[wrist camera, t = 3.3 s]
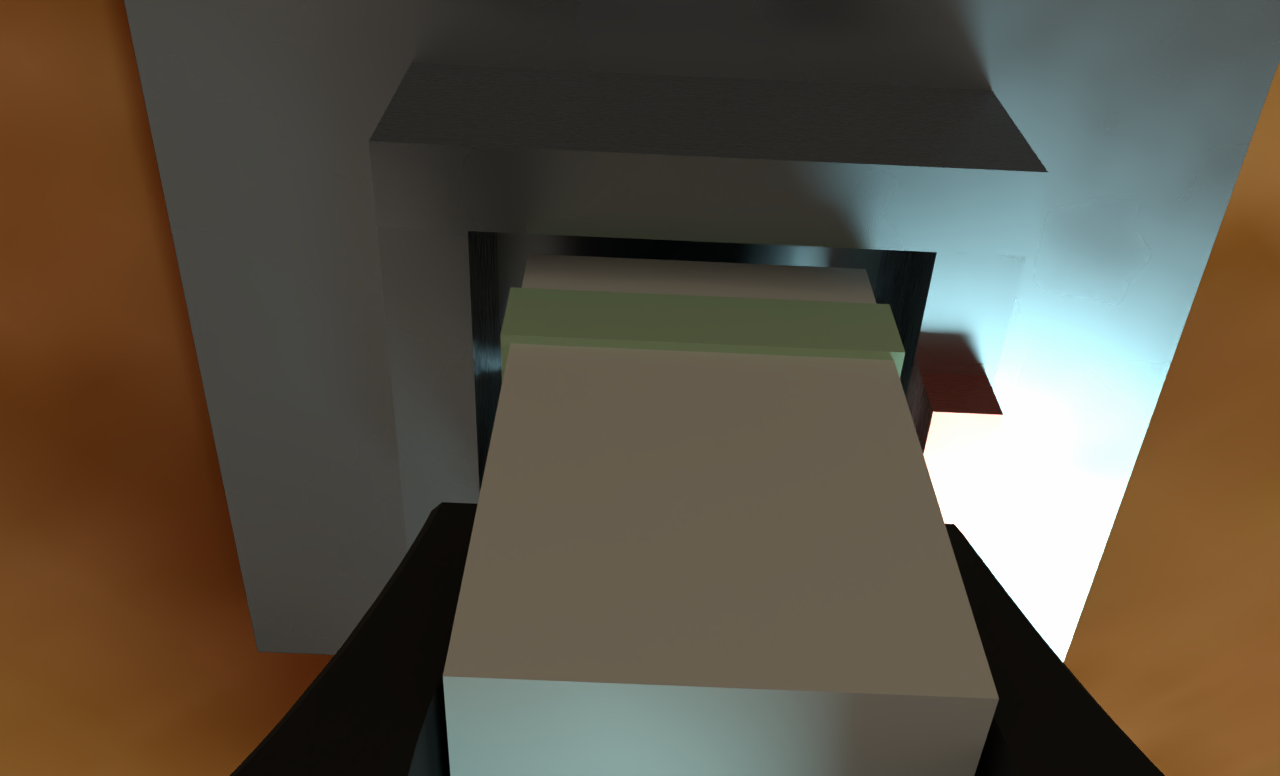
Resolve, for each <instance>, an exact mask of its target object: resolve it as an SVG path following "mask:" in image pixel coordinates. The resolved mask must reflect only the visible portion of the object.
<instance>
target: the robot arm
mask: <svg viewBox="0 0 1280 776" xmlns="http://www.w3.org/2000/svg"><path fill="white" fill-rule="evenodd" d="M477 505H478V504H475V503H451V502H442V503H441V504H439V505H438V506H437V507H435V508H434V509H433V510H432V511H431V513H430V514H429V516H428V518H427V520H426V522H425V523H424V525H423V527H422V529H421V530H420V532H419V534H418V535H417V537H416V539H415V540H414V542H413V544H412V545H411V547H410V549H409V550H408V552H407V554H406V555H405V557H404V558H403V560H402V561H401V563H400V564H399V566H398V568H397V569H396V571H395V572H394V573H393V575H392V576H391V578H390V579H389V581H388V582H387V584H386V585H385V587H384V588H383V590H382V591H381V593H380V594H379V596H378V597H377V599H376V600H375V601H374V603H373V604H372V605H371V607H370V608H369V609H368V611H367V612H366V614H365V615H364V616H363V618H362V619H361V620H360V622H359V623H358V624H357V626H356V627H355V629H354V630H353V631H352V633H351V634H350V635H349V637H348V638H347V639H346V641H345V642H344V644H343V645H342V646H341V648H340V649H339V650H338V651H337V653H336V654H335V655H334V657H333V658H332V659H331V660H330V662H329V663H328V664H327V665H326V667H325V668H324V669H323V670H322V671H321V673H320V674H319V675H318V676H317V677H316V679H315V680H314V681H313V682H312V684H311V685H310V686H309V687H308V688H307V690H306V691H305V692H304V693H303V694H302V696H301V697H300V698H299V699H298V700H297V702H296V703H295V704H294V705H293V706H292V708H291V709H290V710H289V711H288V713H287V714H286V715H285V716H284V717H283V718H282V720H281V721H280V722H279V723H278V724H277V725H276V726H275V728H274V729H273V730H272V731H271V732H270V733H269V734H268V735H267V736H266V738H265V739H264V740H263V741H262V742H261V743H260V744H259V745H258V746H257V748H256V749H255V750H254V751H253V752H252V753H251V754H250V755H249V756H248V757H247V758H246V759H245V760H244V761H243V763H242V764H241V765H240V766H239V767H238V768H237V769H236V770H235V771H234V772H233V773H232V774H231V775H230V776H450V763H449V750H448V737H447V724H446V711H445V698H444V686H443V673H444V668H445V663H446V658H447V653H448V648H449V643H450V638H451V633H452V628H453V624H454V619H455V614H456V609H457V604H458V599H459V594H460V589H461V584H462V579H463V574H464V569H465V564H466V559H467V554H468V549H469V545H470V540H471V535H472V530H473V525H474V520H475V515H476V510H477ZM945 526H946V529H947V533H948V536H949V539H950V542H951V546H952V549H953V552H954V555H955V558H956V562H957V565H958V568H959V571H960V575H961V578H962V581H963V584H964V587H965V591H966V594H967V597H968V600H969V604H970V607H971V610H972V613H973V617H974V620H975V623H976V626H977V629H978V633H979V636H980V639H981V642H982V646H983V649H984V652H985V655H986V658H987V662H988V665H989V668H990V671H991V675H992V678H993V681H994V684H995V688H996V691H997V694H998V697H999V700H998V704H997V707H996V710H995V713H994V716H993V719H992V722H991V725H990V728H989V731H988V735H987V738H986V741H985V744H984V747H983V750H982V753H981V756H980V759H979V762H978V766H977V769H976V772H975V775H974V776H1165V775H1164V774H1163V773H1162V772H1161V771H1160V770H1159V769H1158V768H1157V767H1156V766H1155V765H1154V764H1153V763H1152V762H1151V761H1150V760H1149V759H1148V758H1147V757H1146V756H1145V754H1144V753H1143V752H1142V751H1141V750H1140V749H1139V748H1138V747H1137V746H1136V745H1135V744H1134V743H1133V742H1132V740H1131V739H1130V738H1129V737H1128V736H1127V735H1126V734H1125V733H1124V732H1123V731H1122V730H1121V729H1120V728H1119V726H1118V725H1117V724H1116V723H1115V722H1114V721H1113V720H1112V719H1111V718H1110V716H1109V715H1108V714H1107V713H1106V712H1105V711H1104V710H1103V709H1102V707H1101V706H1100V705H1099V704H1098V703H1097V702H1096V701H1095V699H1094V698H1093V697H1092V696H1091V695H1090V694H1089V693H1088V691H1087V690H1086V689H1085V688H1084V687H1083V685H1082V684H1081V683H1080V682H1079V681H1078V679H1077V678H1076V677H1075V676H1074V675H1073V673H1072V672H1071V671H1070V670H1069V669H1068V668H1067V666H1066V665H1065V664H1064V663H1063V662H1062V660H1061V659H1060V658H1059V657H1058V656H1057V654H1056V653H1055V652H1054V651H1053V650H1052V648H1051V647H1050V646H1049V645H1048V644H1047V642H1046V641H1045V640H1044V639H1043V637H1042V636H1041V635H1040V634H1039V632H1038V631H1037V630H1036V629H1035V627H1034V626H1033V625H1032V624H1031V622H1030V621H1029V620H1028V618H1027V617H1026V616H1025V615H1024V613H1023V612H1022V611H1021V609H1020V608H1019V607H1018V606H1017V604H1016V603H1015V602H1014V600H1013V599H1012V598H1011V597H1010V595H1009V594H1008V593H1007V591H1006V590H1005V589H1004V588H1003V586H1002V585H1001V584H1000V582H999V581H998V580H997V578H996V577H995V576H994V574H993V573H992V572H991V570H990V569H989V568H988V566H987V565H986V564H985V562H984V561H983V560H982V558H981V557H980V556H979V554H978V553H977V552H976V550H975V549H974V548H973V546H972V545H971V544H970V542H969V541H968V540H967V539H966V537H965V536H964V535H963V533H962V532H961V531H960V530H959V529H958V528H957V526H956V525H955V524H946V523H945Z"/></svg>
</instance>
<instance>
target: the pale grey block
mask: <svg viewBox="0 0 1280 776" xmlns="http://www.w3.org/2000/svg"><path fill="white" fill-rule="evenodd" d="M500 339H501V373H502V387H501V392H500V396H499V401H498V406H497V411H496V416H495V421H494V426H493V431H492V436H491V441H490V446H489V451H488V456H487V461H486V466H485V471H484V475H483V480H482V485H481V490H480V495H479V500H478V505H477V510H476V515H475V520H474V525H473V530H472V535H471V540H470V545H469V549H468V554H467V559H466V564H465V569H464V574H463V579H462V584H461V589H460V594H459V599H458V604H457V609H456V614H455V619H454V624H453V628H452V633H451V638H450V643H449V648H448V653H447V658H446V663H445V668H444V673H443V686H444V698H445V711H446V724H447V737H448V750H449V763H450V776H974V775H975V772H976V769H977V766H978V762H979V759H980V756H981V753H982V750H983V747H984V744H985V741H986V738H987V735H988V731H989V728H990V725H991V722H992V719H993V716H994V713H995V710H996V707H997V704H998V700H999V697H998V694H997V691H996V688H995V684H994V681H993V678H992V675H991V671H990V668H989V665H988V662H987V658H986V655H985V652H984V649H983V646H982V642H981V639H980V636H979V633H978V629H977V626H976V623H975V620H974V617H973V613H972V610H971V607H970V604H969V600H968V597H967V594H966V591H965V587H964V584H963V581H962V578H961V575H960V571H959V568H958V565H957V562H956V558H955V555H954V552H953V549H952V546H951V542H950V539H949V536H948V533H947V529H946V526H945V523H944V520H943V516H942V513H941V510H940V507H939V504H938V500H937V497H936V494H935V491H934V487H933V484H932V481H931V478H930V475H929V471H928V468H927V465H926V462H925V458H924V455H923V452H922V449H921V445H920V442H919V439H918V436H917V433H916V429H915V426H914V423H913V420H912V416H911V413H910V410H909V407H908V404H907V400H906V397H905V394H904V391H903V387H902V384H901V381H900V376H901V371H902V366H903V361H904V356H905V350H904V347H903V344H902V341H901V338H900V335H899V332H898V329H897V326H896V323H895V320H894V317H893V314H892V311H891V307H890V304H876V300H875V297H874V294H873V291H872V287H871V284H870V281H869V278H868V274H867V271H866V269H858V268H835V267H813V266H791V265H769V264H746V263H724V262H702V261H680V260H657V259H635V258H613V257H590V256H568V255H546V254H528V258H527V263H526V268H525V273H524V278H523V283H522V288H514V287H511V288H510V293H509V298H508V302H507V307H506V311H505V316H504V320H503V325H502V330H501V334H500Z"/></svg>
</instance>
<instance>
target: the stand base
mask: <svg viewBox="0 0 1280 776" xmlns="http://www.w3.org/2000/svg"><path fill="white" fill-rule="evenodd" d="M124 3H125V7H126V12H127V17H128V22H129V27H130V32H131V37H132V41H133V46H134V51H135V56H136V61H137V66H138V71H139V76H140V80H141V85H142V90H143V95H144V100H145V105H146V110H147V115H148V119H149V124H150V129H151V134H152V139H153V144H154V149H155V154H156V158H157V163H158V168H159V173H160V178H161V183H162V188H163V193H164V197H165V202H166V207H167V212H168V217H169V222H170V227H171V232H172V236H173V241H174V246H175V251H176V256H177V261H178V266H179V271H180V275H181V280H182V285H183V290H184V295H185V300H186V305H187V310H188V314H189V319H190V324H191V329H192V334H193V339H194V344H195V348H196V353H197V358H198V363H199V368H200V373H201V378H202V383H203V387H204V392H205V397H206V402H207V407H208V412H209V417H210V422H211V426H212V431H213V436H214V441H215V446H216V451H217V456H218V461H219V465H220V470H221V475H222V480H223V485H224V490H225V495H226V500H227V504H228V509H229V514H230V519H231V524H232V529H233V534H234V539H235V543H236V548H237V553H238V558H239V563H240V568H241V573H242V578H243V582H244V587H245V592H246V597H247V602H248V607H249V612H250V617H251V621H252V626H253V631H254V636H255V641H256V646H257V651H258V652H276V653H301V654H326V655H335V654H336V653H337V651H338V650H339V649H340V648H341V646H342V645H343V644H344V642H345V641H346V639H347V638H348V637H349V635H350V634H351V633H352V631H353V630H354V629H355V627H356V626H357V624H358V623H359V622H360V620H361V619H362V618H363V616H364V615H365V614H366V612H367V611H368V609H369V608H370V607H371V605H372V604H373V603H374V601H375V600H376V599H377V597H378V596H379V594H380V593H381V591H382V590H383V588H384V587H385V585H386V584H387V582H388V581H389V579H390V578H391V576H392V575H393V573H394V572H395V571H396V569H397V568H398V566H399V564H400V563H401V561H402V560H403V558H404V557H405V555H406V554H407V552H408V550H409V549H410V547H411V545H412V544H413V542H414V540H415V539H416V537H417V535H418V534H419V532H420V530H421V529H422V527H423V525H424V523H425V522H426V520H427V518H428V516H429V514H430V513H431V511H432V510H433V509H434V508H435V507H437V506H438V505H439V504H441V503H442V502H451V503H475V504H478V500H479V495H480V490H481V485H482V480H483V475H484V471H485V466H486V461H487V456H488V451H489V446H490V441H491V436H492V431H493V426H494V421H495V416H496V411H497V406H498V401H499V396H500V392H501V387H502V373H501V339H500V334H501V330H502V325H503V320H504V316H505V311H506V307H507V302H508V298H509V293H510V288H511V287H514V288H522V283H523V278H524V273H525V268H526V263H527V258H528V254H546V255H568V256H590V257H613V258H635V259H657V260H680V261H702V262H724V263H746V264H769V265H791V266H813V267H835V268H858V269H866V271H867V274H868V278H869V281H870V284H871V287H872V291H873V294H874V297H875V300H876V304H890V307H891V311H892V314H893V317H894V320H895V323H896V326H897V329H898V332H899V335H900V338H901V341H902V344H903V347H904V350H905V356H904V361H903V366H902V371H901V376H900V381H901V384H902V387H903V391H904V394H905V397H906V400H907V404H908V407H909V410H910V413H911V416H912V420H913V423H914V426H915V429H916V433H917V436H918V439H919V442H920V445H921V449H922V452H923V455H924V458H925V462H926V465H927V468H928V471H929V475H930V478H931V481H932V484H933V487H934V491H935V494H936V497H937V500H938V504H939V507H940V510H941V513H942V516H943V520H944V523H946V524H955V525H956V526H957V528H958V529H959V530H960V531H961V532H962V533H963V535H964V536H965V537H966V539H967V540H968V541H969V542H970V544H971V545H972V546H973V548H974V549H975V550H976V552H977V553H978V554H979V556H980V557H981V558H982V560H983V561H984V562H985V564H986V565H987V566H988V568H989V569H990V570H991V572H992V573H993V574H994V576H995V577H996V578H997V580H998V581H999V582H1000V584H1001V585H1002V586H1003V588H1004V589H1005V590H1006V591H1007V593H1008V594H1009V595H1010V597H1011V598H1012V599H1013V600H1014V602H1015V603H1016V604H1017V606H1018V607H1019V608H1020V609H1021V611H1022V612H1023V613H1024V615H1025V616H1026V617H1027V618H1028V620H1029V621H1030V622H1031V624H1032V625H1033V626H1034V627H1035V629H1036V630H1037V631H1038V632H1039V634H1040V635H1041V636H1042V637H1043V639H1044V640H1045V641H1046V642H1047V644H1048V645H1049V646H1050V647H1051V648H1052V650H1053V651H1054V652H1055V653H1056V654H1057V656H1058V657H1059V658H1060V659H1061V660H1062V662H1063V661H1064V659H1065V656H1066V653H1067V650H1068V648H1069V645H1070V642H1071V639H1072V636H1073V634H1074V631H1075V628H1076V625H1077V622H1078V620H1079V617H1080V614H1081V611H1082V609H1083V606H1084V603H1085V600H1086V597H1087V595H1088V592H1089V589H1090V586H1091V583H1092V581H1093V578H1094V575H1095V572H1096V570H1097V567H1098V564H1099V561H1100V558H1101V556H1102V553H1103V550H1104V547H1105V545H1106V542H1107V539H1108V536H1109V533H1110V531H1111V528H1112V525H1113V522H1114V519H1115V517H1116V514H1117V511H1118V508H1119V506H1120V503H1121V500H1122V497H1123V494H1124V492H1125V489H1126V486H1127V483H1128V481H1129V478H1130V475H1131V472H1132V469H1133V467H1134V464H1135V461H1136V458H1137V455H1138V453H1139V450H1140V447H1141V444H1142V442H1143V439H1144V436H1145V433H1146V430H1147V428H1148V425H1149V422H1150V419H1151V416H1152V414H1153V411H1154V408H1155V405H1156V403H1157V400H1158V397H1159V394H1160V391H1161V389H1162V386H1163V383H1164V380H1165V378H1166V375H1167V372H1168V369H1169V366H1170V364H1171V361H1172V358H1173V355H1174V352H1175V350H1176V347H1177V344H1178V341H1179V339H1180V336H1181V333H1182V330H1183V327H1184V325H1185V322H1186V319H1187V316H1188V314H1189V311H1190V308H1191V305H1192V302H1193V300H1194V297H1195V294H1196V291H1197V288H1198V286H1199V283H1200V280H1201V277H1202V275H1203V272H1204V269H1205V266H1206V263H1207V261H1208V258H1209V255H1210V252H1211V249H1212V247H1213V244H1214V241H1215V238H1216V236H1217V233H1218V230H1219V227H1220V224H1221V222H1222V219H1223V216H1224V213H1225V211H1226V208H1227V205H1228V202H1229V199H1230V197H1231V194H1232V191H1233V188H1234V185H1235V183H1236V180H1237V177H1238V174H1239V172H1240V169H1241V166H1242V163H1243V160H1244V158H1245V155H1246V152H1247V149H1248V146H1249V144H1250V141H1251V138H1252V135H1253V133H1254V130H1255V127H1256V124H1257V121H1258V119H1259V116H1260V113H1261V110H1262V108H1263V105H1264V102H1265V99H1266V96H1267V94H1268V91H1269V88H1270V85H1271V82H1272V80H1273V77H1274V74H1275V71H1276V69H1277V66H1278V63H1279V60H1280V0H124Z"/></svg>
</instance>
